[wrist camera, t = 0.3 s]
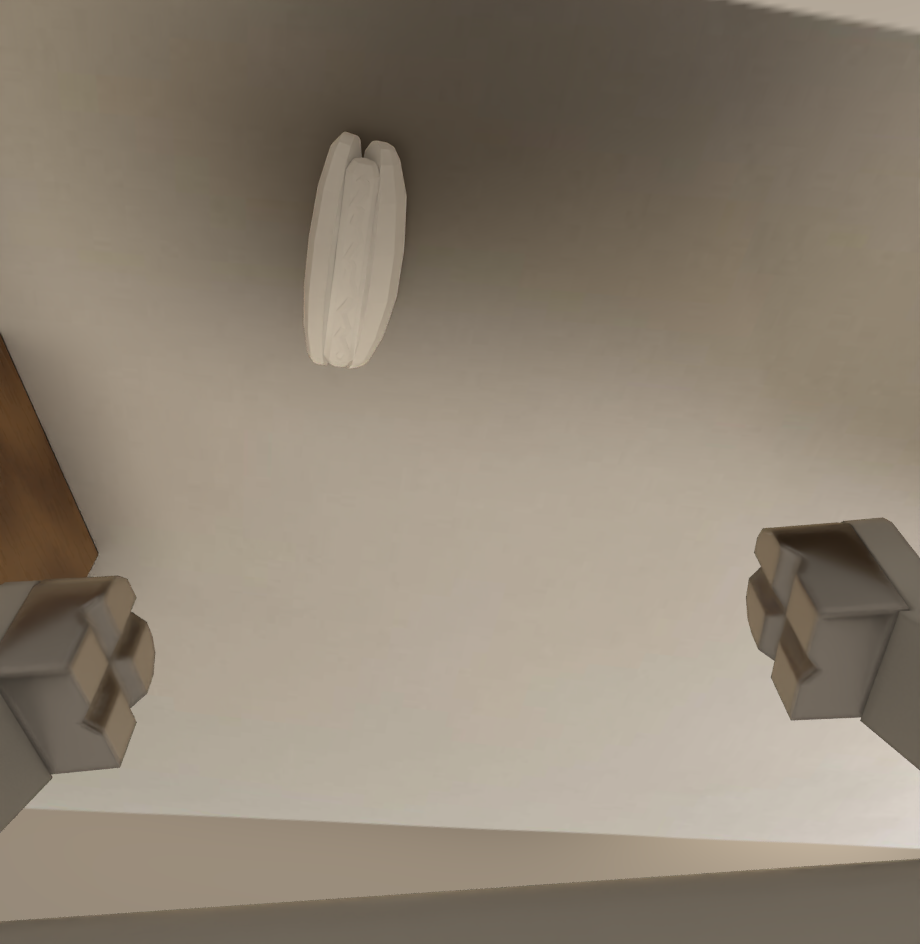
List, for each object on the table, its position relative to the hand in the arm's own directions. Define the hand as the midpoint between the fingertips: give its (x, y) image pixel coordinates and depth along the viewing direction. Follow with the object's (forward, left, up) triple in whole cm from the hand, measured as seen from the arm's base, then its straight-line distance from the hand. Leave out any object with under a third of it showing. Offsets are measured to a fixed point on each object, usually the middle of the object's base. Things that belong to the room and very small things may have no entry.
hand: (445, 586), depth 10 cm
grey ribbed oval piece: (+2, -3, -20) cm, 20 cm away
